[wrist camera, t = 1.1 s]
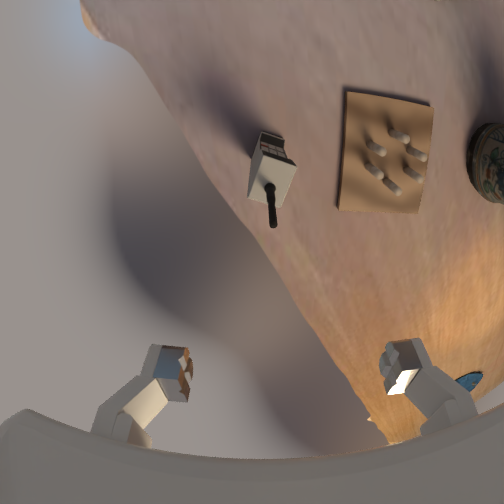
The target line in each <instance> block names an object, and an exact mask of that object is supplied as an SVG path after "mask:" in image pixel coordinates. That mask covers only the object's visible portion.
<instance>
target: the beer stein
mask: <svg viewBox="0 0 504 504" xmlns="http://www.w3.org/2000/svg"><path fill="white" fill-rule="evenodd" d="M466 164H467V172H468V175H469V178H470V182H471V183H472V185H473V186H474V188H475V189H476V190H477V191H478V192H479V193H480V194H481V196H482V197H484V198H485V199H486V200H488V201H490V202H493V203H501V204H504V124H498V123H490V124H485V125H483V126H481V127H480V128H478V130H477V131H476V133H475V134H474V135H473V137H472V138H471V141H470V145H469V148H468V151H467V162H466Z"/></svg>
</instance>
